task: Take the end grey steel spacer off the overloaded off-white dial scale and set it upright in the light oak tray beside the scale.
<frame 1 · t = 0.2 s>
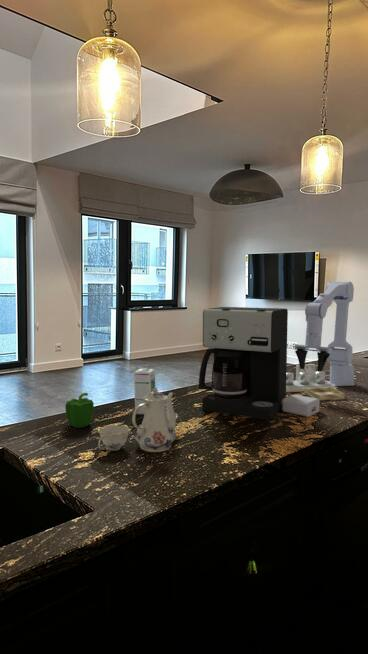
hand: (310, 370, 171), 11 cm above the worktop, tool pointing down, fingers open, 7 cm apart
spacer b: (303, 383, 187), point 2 cm above the worktop, touching scale
bell pepper: (80, 426, 138), on the worktop
coffee maker: (238, 407, 158), on the worktop, touching charger
spacer c: (288, 384, 185), point 2 cm above the worktop, touching scale
scale: (302, 387, 188), on the worktop
syrup box: (145, 412, 152), on the worktop
spacer a: (319, 382, 188), point 2 cm above the worktop, touching scale
charger: (292, 411, 155), on the worktop, touching coffee maker
tray: (324, 396, 174), on the worktop
chinaware: (148, 444, 123), on the worktop
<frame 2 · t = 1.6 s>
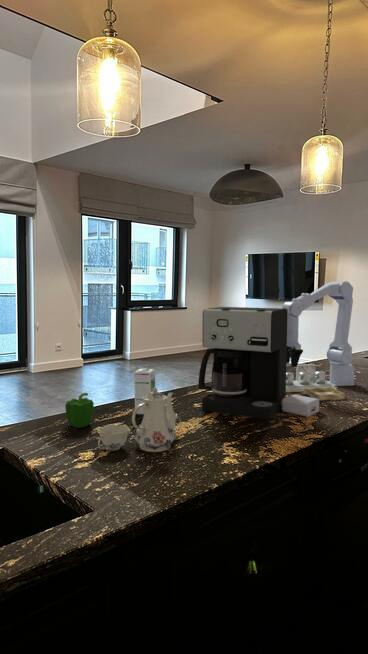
hand: (290, 364, 183), 10 cm above the worktop, tool pointing down, fingers open, 7 cm apart
nothing on the worktop moved.
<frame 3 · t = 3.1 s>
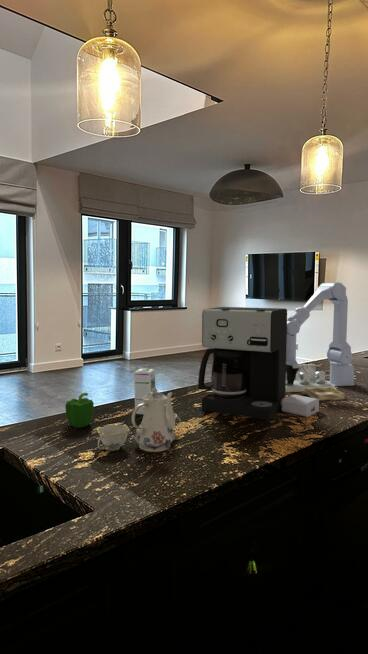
hand: (288, 382, 185), 3 cm above the worktop, tool pointing down, fingers closed on spacer c, 4 cm apart
spacer c: (288, 384, 185), point 2 cm above the worktop, touching gripper, scale
everything else where it was.
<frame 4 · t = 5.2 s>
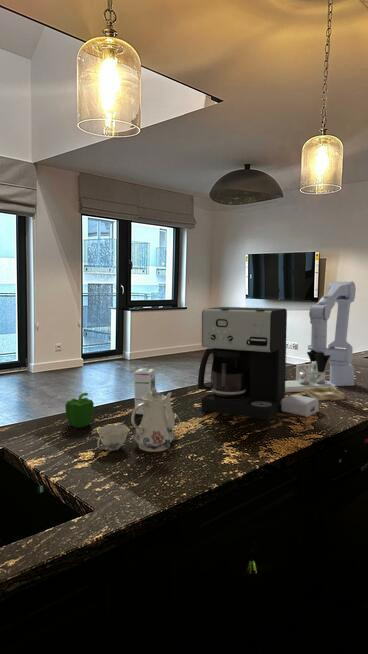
hand: (317, 370, 175), 9 cm above the worktop, tool pointing down, fingers closed on spacer c, 4 cm apart
spacer c: (317, 373, 175), point 9 cm above the worktop, touching gripper
everything else where it was.
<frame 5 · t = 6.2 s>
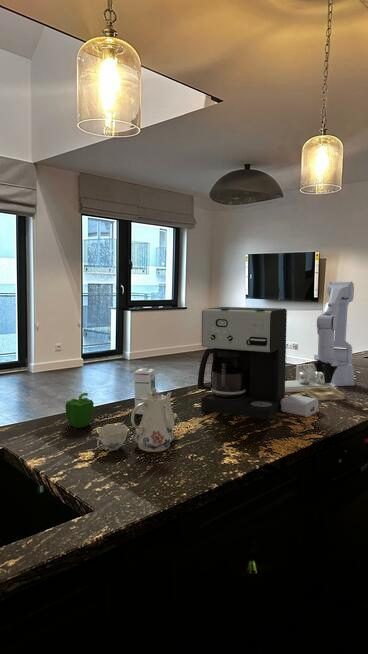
hand: (324, 381, 173), 6 cm above the worktop, tool pointing down, fingers closed on spacer c, 4 cm apart
spacer c: (323, 383, 173), point 5 cm above the worktop, touching gripper
everything else where it was.
when the fingers open (3 cm above the worktop, at t = 7.2 s): spacer c drops 1 cm, resting on tray.
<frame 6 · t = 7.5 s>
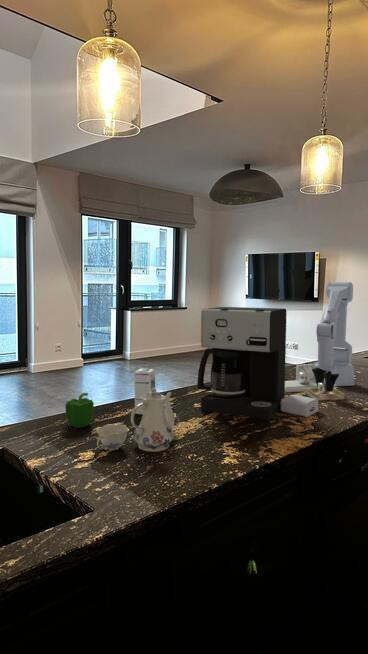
hand: (324, 389, 174), 3 cm above the worktop, tool pointing down, fingers open, 7 cm apart
spacer c: (323, 394, 174), point 1 cm above the worktop, touching tray
everything else where it was.
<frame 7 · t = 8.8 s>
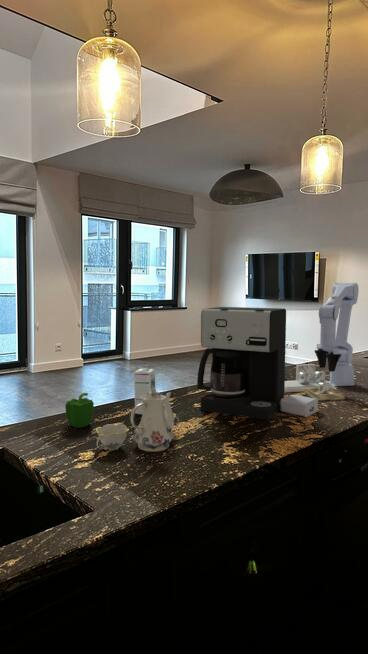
hand: (326, 369, 179), 9 cm above the worktop, tool pointing down, fingers open, 7 cm apart
nothing on the worktop moved.
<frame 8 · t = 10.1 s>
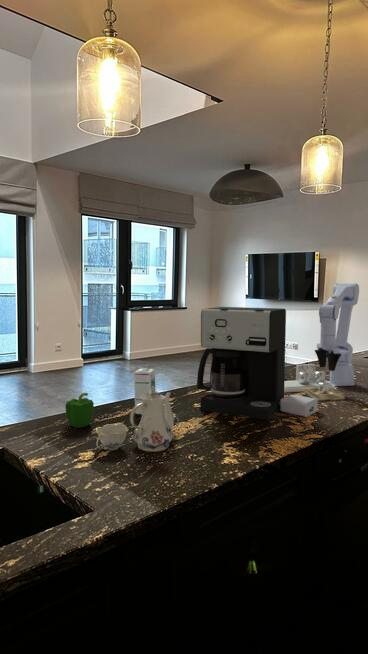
hand: (327, 368, 179), 9 cm above the worktop, tool pointing down, fingers open, 7 cm apart
nothing on the worktop moved.
at the end: spacer c inside the target area on the tray (0.3 cm from its centre), point 0.6 cm above the tray's base; spacer c tilted 0°; spacer b moved 0.0 cm from its start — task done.
